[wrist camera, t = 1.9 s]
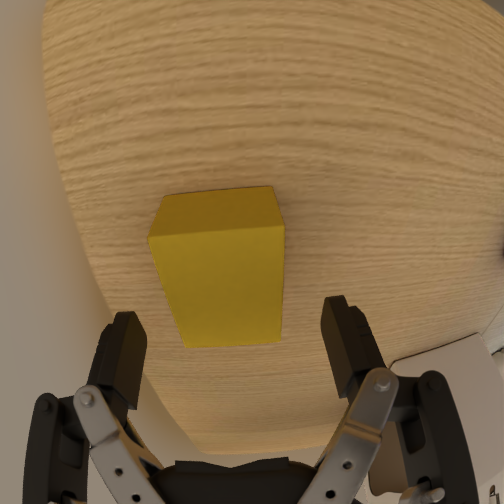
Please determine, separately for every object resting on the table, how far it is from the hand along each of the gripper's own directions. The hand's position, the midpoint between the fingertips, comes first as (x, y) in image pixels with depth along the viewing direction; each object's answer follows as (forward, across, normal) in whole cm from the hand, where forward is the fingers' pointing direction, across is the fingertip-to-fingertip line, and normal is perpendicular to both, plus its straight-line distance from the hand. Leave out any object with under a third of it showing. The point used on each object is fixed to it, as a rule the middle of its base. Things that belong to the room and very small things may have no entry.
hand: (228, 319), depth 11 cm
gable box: (+5, -22, +26) cm, 34 cm away
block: (+4, 0, 0) cm, 4 cm away
